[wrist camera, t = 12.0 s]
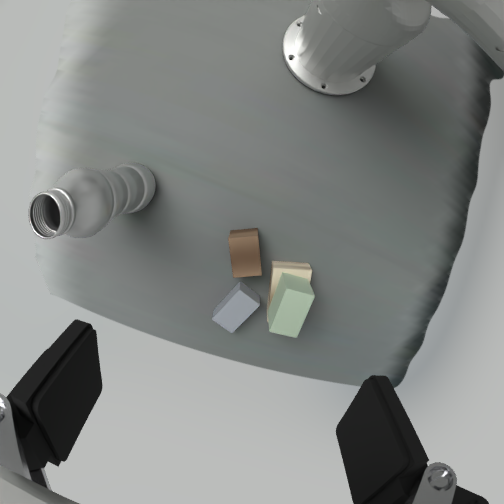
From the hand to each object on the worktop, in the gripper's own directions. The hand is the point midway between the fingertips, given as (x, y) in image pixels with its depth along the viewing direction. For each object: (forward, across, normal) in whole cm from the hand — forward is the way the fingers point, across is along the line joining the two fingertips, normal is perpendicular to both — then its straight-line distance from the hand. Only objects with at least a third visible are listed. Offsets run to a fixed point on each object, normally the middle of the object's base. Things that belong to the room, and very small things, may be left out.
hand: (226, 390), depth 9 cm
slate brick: (+31, -1, +13) cm, 33 cm away
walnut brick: (+30, -1, +4) cm, 31 cm away
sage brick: (+28, -8, +9) cm, 30 cm away
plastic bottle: (+31, +15, -1) cm, 34 cm away
